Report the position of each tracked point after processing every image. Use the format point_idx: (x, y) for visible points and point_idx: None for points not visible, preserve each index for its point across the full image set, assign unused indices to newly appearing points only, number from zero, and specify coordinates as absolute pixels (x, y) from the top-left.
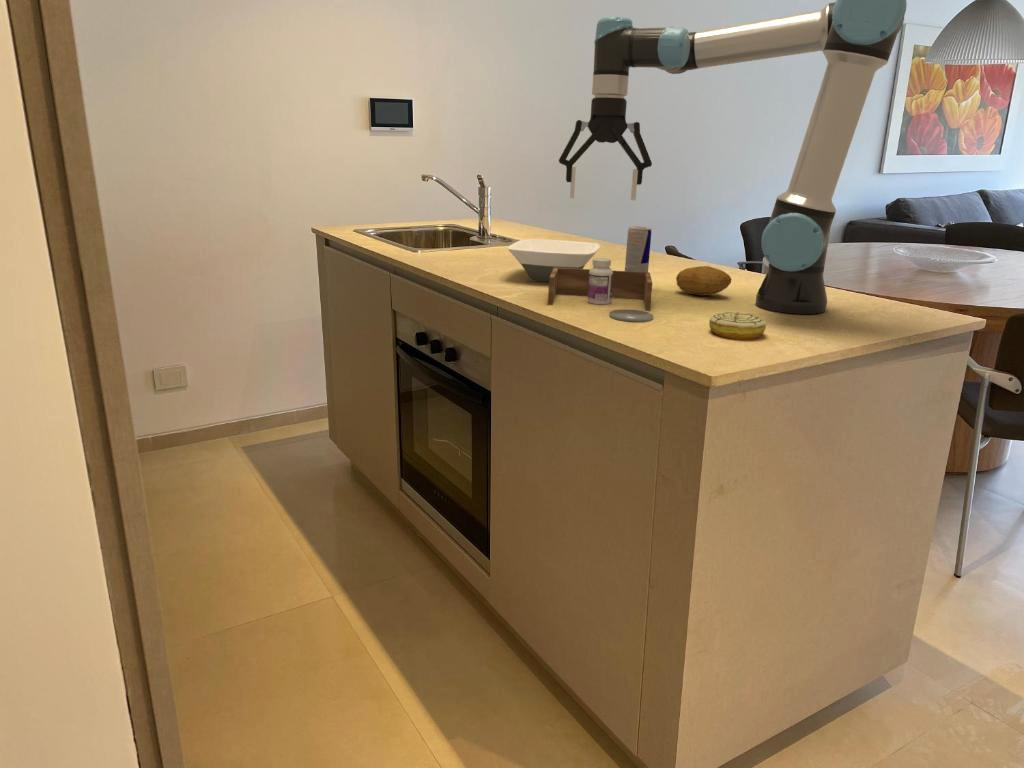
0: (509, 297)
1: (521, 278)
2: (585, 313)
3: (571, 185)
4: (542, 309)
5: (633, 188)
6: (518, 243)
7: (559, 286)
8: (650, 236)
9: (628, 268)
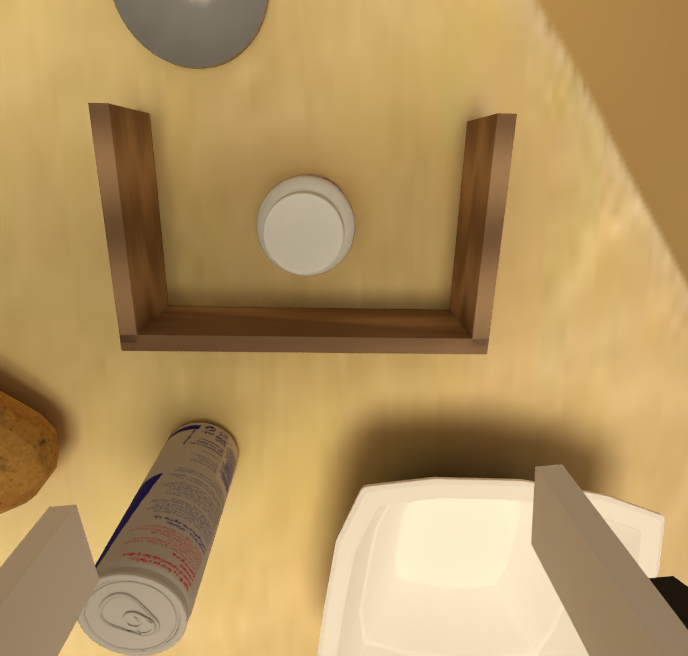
0: (607, 215)
1: None
2: (354, 6)
3: (613, 535)
4: (504, 38)
5: (17, 577)
6: None
7: (447, 316)
8: None
9: (212, 469)
